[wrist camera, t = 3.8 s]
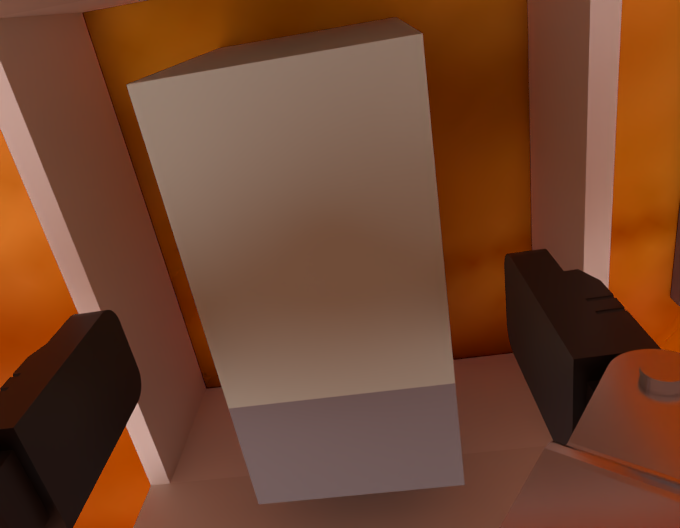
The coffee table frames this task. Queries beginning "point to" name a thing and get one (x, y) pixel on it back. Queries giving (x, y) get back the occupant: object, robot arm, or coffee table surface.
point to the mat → (676, 269)
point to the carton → (164, 312)
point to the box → (315, 254)
